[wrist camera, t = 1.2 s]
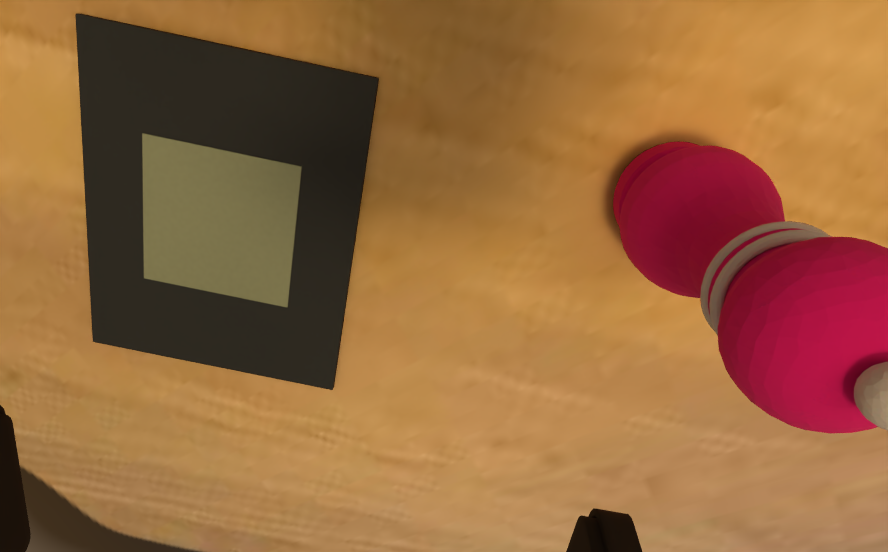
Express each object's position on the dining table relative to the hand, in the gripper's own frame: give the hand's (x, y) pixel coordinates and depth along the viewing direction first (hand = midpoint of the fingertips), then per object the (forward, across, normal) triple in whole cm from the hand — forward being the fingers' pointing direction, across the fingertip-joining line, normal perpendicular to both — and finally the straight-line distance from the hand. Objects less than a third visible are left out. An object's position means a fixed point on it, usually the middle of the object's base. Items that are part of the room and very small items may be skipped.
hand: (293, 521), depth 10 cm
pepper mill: (+25, -14, -1) cm, 29 cm away
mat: (+25, +12, +5) cm, 28 cm away
